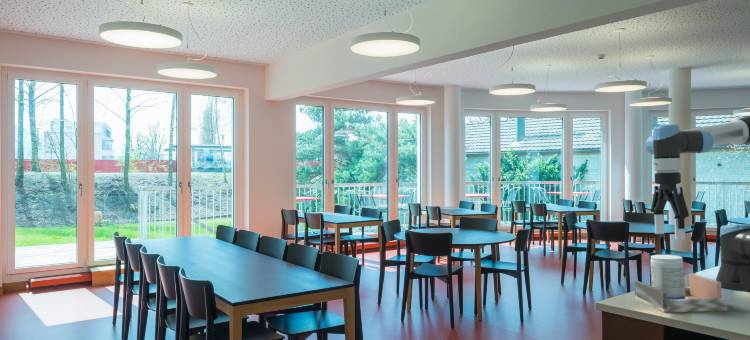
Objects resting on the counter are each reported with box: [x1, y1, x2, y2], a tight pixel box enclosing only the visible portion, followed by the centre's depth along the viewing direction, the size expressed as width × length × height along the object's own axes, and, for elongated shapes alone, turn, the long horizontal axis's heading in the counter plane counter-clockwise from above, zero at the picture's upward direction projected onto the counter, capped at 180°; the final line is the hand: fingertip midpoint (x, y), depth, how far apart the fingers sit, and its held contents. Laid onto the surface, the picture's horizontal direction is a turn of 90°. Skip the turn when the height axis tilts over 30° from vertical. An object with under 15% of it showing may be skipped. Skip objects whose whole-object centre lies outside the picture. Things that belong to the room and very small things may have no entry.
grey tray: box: [634, 280, 728, 313], centre depth 170 cm, size 20×18×6 cm
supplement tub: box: [650, 254, 686, 300], centre depth 170 cm, size 10×10×15 cm
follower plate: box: [688, 273, 723, 299], centre depth 170 cm, size 2×14×7 cm, turn 0°
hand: (669, 236), depth 170 cm, fingers open, 13 cm apart
